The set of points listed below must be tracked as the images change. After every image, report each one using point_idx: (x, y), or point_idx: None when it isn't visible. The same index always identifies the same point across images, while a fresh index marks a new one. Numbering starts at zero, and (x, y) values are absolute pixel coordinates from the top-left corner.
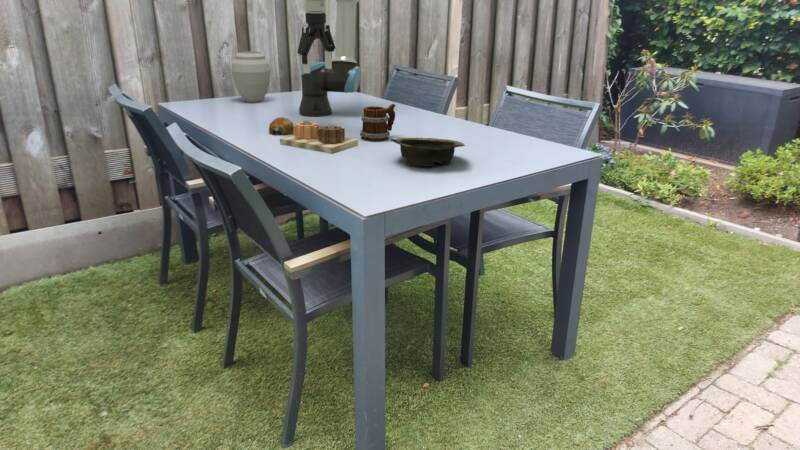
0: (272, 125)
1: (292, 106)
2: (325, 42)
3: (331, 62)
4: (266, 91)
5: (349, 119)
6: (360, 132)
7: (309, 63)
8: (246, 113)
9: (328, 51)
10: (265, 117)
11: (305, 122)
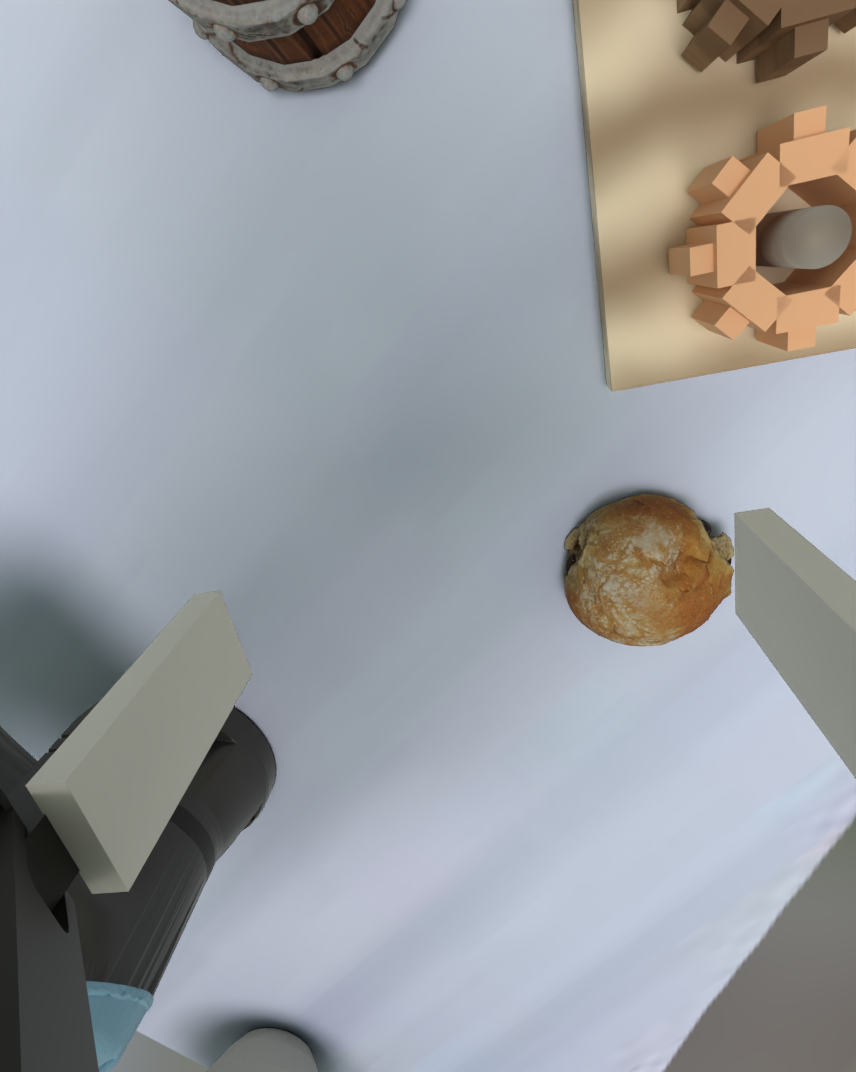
0: (726, 587)
1: (196, 908)
2: (39, 1065)
3: (152, 646)
4: (218, 1066)
5: (112, 550)
6: (388, 16)
7: (822, 585)
8: (454, 934)
9: (62, 842)
10: (445, 841)
11: (846, 218)
